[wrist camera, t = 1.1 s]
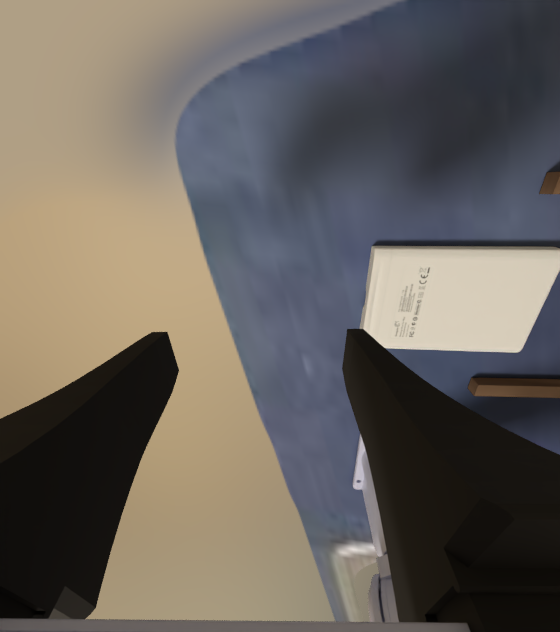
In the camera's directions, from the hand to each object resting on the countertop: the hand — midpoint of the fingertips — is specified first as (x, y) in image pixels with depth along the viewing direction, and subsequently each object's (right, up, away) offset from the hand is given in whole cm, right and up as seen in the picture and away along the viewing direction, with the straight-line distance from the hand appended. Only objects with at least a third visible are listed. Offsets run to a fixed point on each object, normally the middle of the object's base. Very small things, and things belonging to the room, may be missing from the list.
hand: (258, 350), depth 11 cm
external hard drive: (+14, +3, +10) cm, 17 cm away
